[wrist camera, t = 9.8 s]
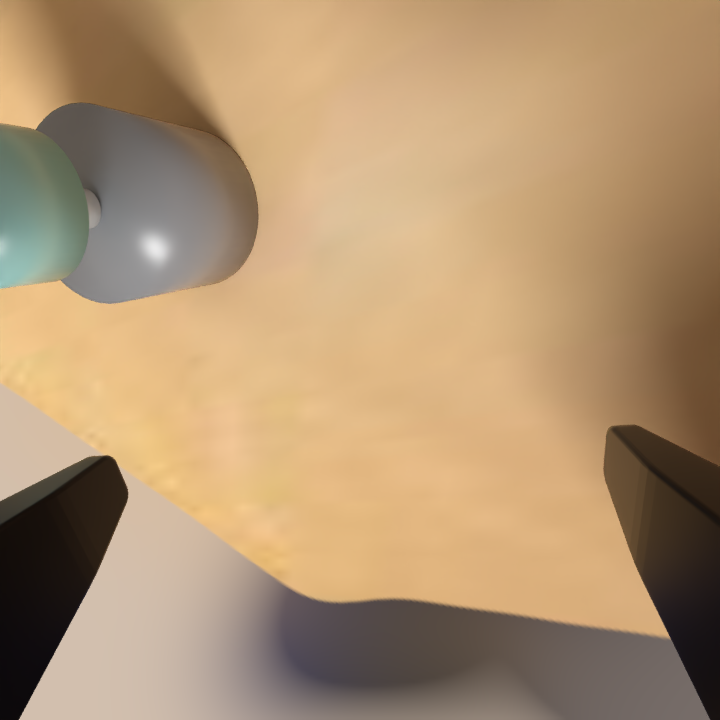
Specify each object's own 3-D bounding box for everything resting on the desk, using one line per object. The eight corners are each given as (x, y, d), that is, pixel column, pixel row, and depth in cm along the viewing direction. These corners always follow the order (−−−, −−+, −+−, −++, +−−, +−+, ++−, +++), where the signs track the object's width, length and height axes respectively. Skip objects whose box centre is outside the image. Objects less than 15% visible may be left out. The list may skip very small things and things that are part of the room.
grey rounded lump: (280, 171, 21) (191, 157, 16) (229, 310, 24) (141, 337, 19) (155, 102, 22) (36, 68, 17) (122, 242, 25) (11, 249, 20)
